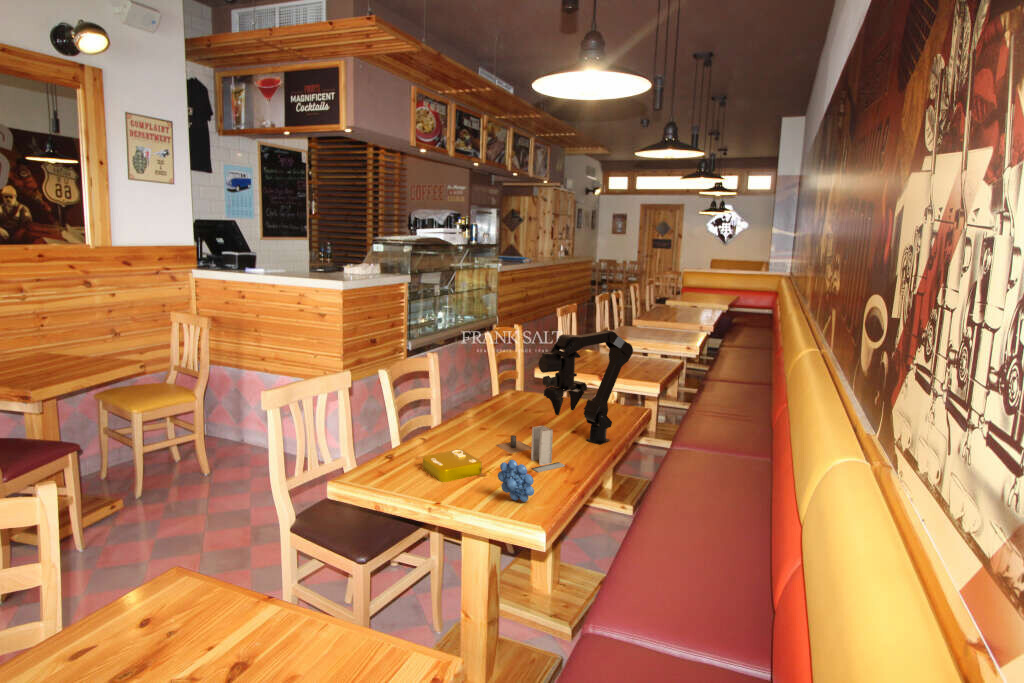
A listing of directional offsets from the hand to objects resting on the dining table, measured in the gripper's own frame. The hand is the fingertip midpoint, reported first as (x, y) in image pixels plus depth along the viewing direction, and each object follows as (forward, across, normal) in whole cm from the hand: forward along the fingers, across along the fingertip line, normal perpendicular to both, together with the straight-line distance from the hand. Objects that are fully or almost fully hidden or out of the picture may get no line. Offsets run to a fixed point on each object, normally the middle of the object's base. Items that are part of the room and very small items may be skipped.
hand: (564, 412), depth 220 cm
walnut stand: (+13, +14, -11) cm, 22 cm away
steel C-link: (+13, +19, +5) cm, 23 cm away
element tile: (+14, +44, -12) cm, 48 cm away
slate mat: (+13, +19, +5) cm, 24 cm away
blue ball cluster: (+13, +48, +18) cm, 53 cm away
